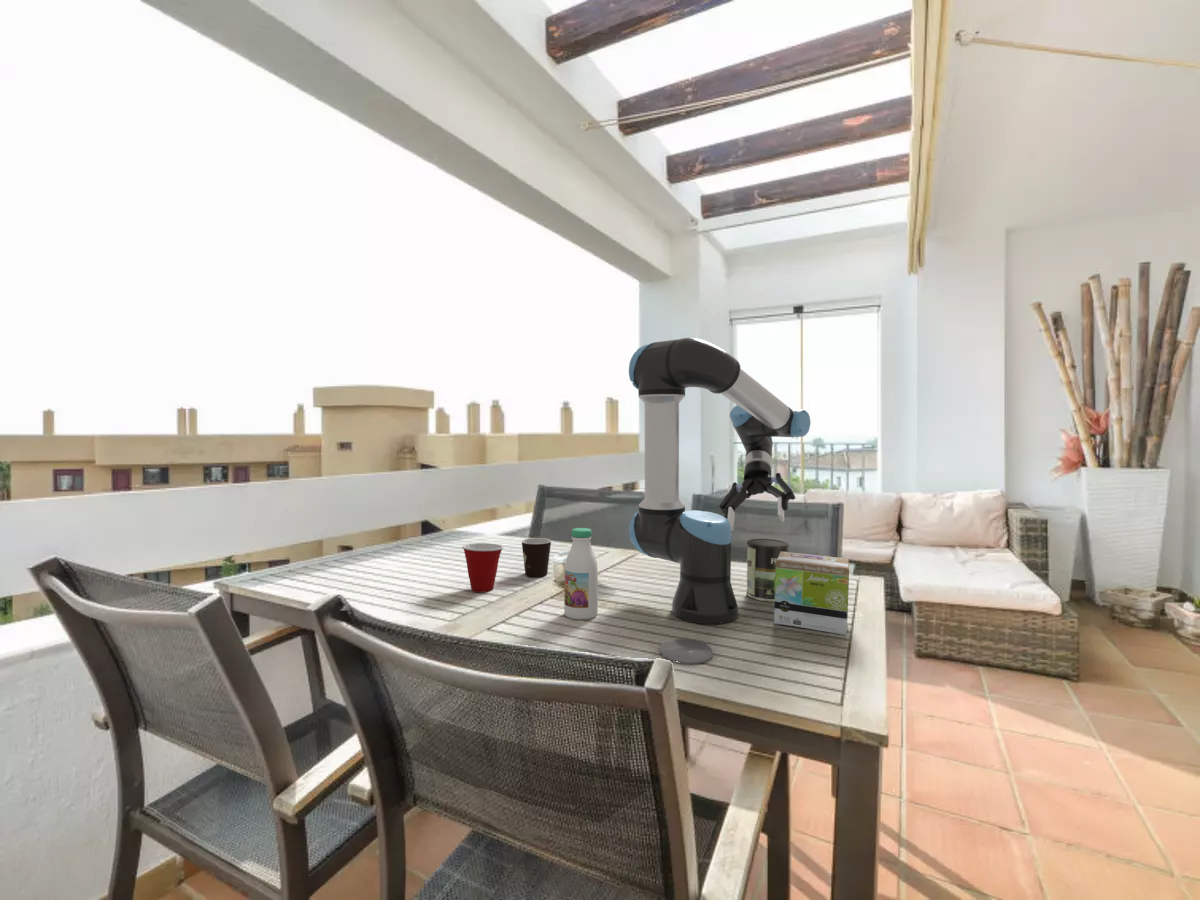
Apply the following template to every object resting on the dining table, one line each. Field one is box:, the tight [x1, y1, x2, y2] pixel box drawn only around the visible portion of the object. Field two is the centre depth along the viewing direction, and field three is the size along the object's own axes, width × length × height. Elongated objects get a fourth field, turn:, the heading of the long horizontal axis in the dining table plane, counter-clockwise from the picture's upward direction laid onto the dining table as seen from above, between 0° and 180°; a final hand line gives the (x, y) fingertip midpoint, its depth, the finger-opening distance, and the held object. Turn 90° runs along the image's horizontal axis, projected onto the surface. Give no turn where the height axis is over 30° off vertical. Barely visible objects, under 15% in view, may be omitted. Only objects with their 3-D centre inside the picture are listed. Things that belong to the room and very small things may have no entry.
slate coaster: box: [659, 638, 714, 665], centre depth 105 cm, size 10×10×1 cm
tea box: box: [773, 551, 850, 636], centre depth 121 cm, size 15×10×15 cm, turn 66°
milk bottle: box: [563, 527, 599, 621], centre depth 126 cm, size 8×8×20 cm
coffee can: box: [746, 538, 790, 603], centre depth 141 cm, size 10×10×14 cm
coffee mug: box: [521, 537, 552, 579], centre depth 162 cm, size 12×9×10 cm
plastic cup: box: [462, 542, 504, 593], centre depth 145 cm, size 11×11×12 cm
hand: (754, 523), depth 141 cm, fingers open, 13 cm apart
